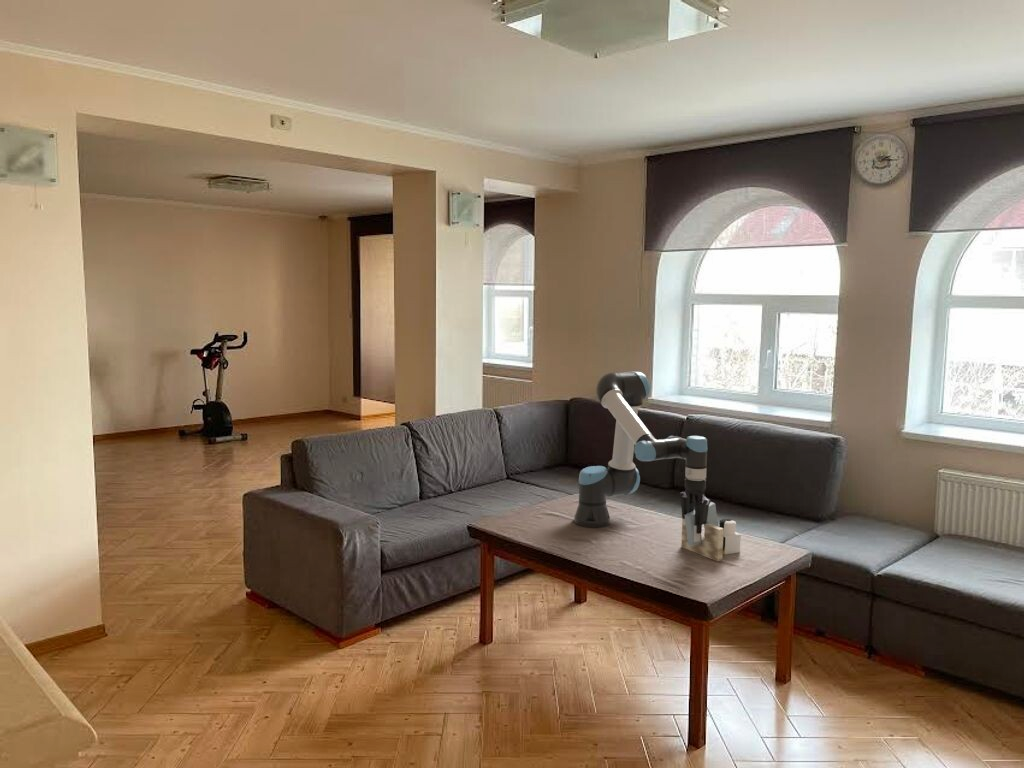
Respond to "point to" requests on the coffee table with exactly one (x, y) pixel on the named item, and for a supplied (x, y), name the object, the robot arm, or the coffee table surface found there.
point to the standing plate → (706, 542)
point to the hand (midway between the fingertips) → (693, 540)
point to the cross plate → (691, 521)
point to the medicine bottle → (730, 537)
